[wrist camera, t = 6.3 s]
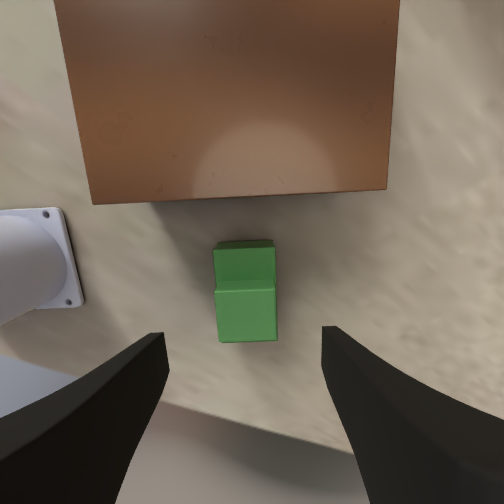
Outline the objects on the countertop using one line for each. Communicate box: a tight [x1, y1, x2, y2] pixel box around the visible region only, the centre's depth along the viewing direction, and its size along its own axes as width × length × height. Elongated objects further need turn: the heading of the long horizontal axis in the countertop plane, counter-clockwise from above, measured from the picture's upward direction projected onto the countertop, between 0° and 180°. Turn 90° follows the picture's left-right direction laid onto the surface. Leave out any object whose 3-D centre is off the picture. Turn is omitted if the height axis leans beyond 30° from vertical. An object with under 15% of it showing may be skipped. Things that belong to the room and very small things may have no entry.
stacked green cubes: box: [213, 240, 278, 343], centre depth 17 cm, size 7×4×5 cm, turn 3°
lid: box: [54, 0, 400, 205], centre depth 11 cm, size 13×15×1 cm
